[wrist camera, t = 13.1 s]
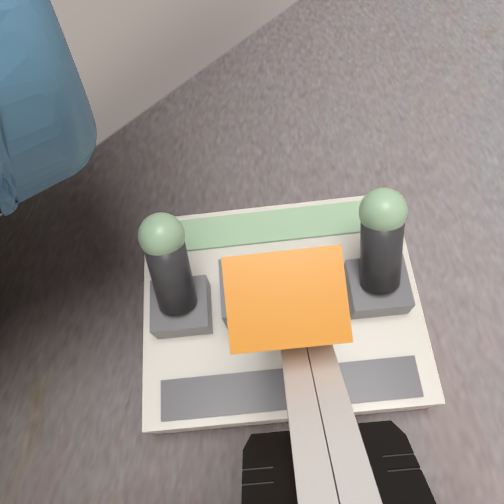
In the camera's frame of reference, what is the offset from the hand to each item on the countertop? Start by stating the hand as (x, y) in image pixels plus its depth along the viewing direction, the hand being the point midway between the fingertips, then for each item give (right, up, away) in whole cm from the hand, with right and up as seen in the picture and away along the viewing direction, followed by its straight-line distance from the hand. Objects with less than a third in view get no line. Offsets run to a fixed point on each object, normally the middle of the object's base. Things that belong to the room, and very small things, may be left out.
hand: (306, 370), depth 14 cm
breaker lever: (0, +2, +9) cm, 9 cm away
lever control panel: (0, 0, +13) cm, 13 cm away
